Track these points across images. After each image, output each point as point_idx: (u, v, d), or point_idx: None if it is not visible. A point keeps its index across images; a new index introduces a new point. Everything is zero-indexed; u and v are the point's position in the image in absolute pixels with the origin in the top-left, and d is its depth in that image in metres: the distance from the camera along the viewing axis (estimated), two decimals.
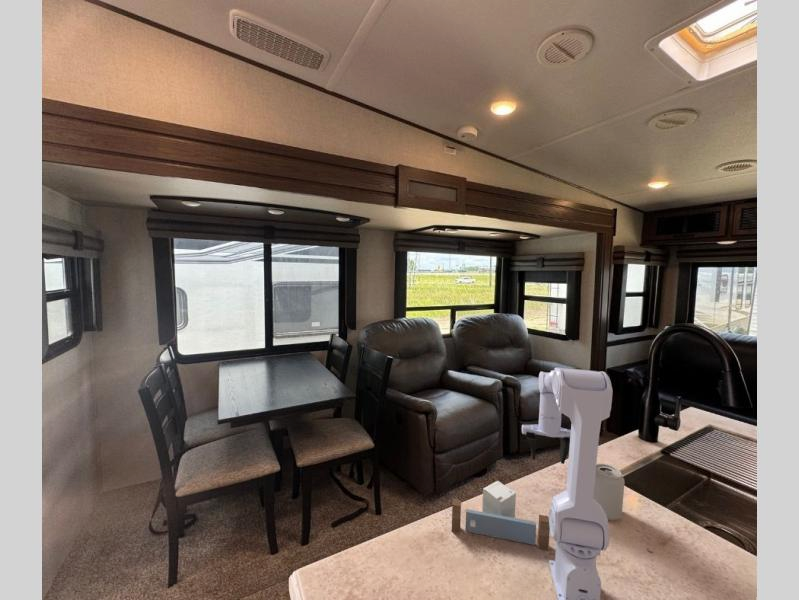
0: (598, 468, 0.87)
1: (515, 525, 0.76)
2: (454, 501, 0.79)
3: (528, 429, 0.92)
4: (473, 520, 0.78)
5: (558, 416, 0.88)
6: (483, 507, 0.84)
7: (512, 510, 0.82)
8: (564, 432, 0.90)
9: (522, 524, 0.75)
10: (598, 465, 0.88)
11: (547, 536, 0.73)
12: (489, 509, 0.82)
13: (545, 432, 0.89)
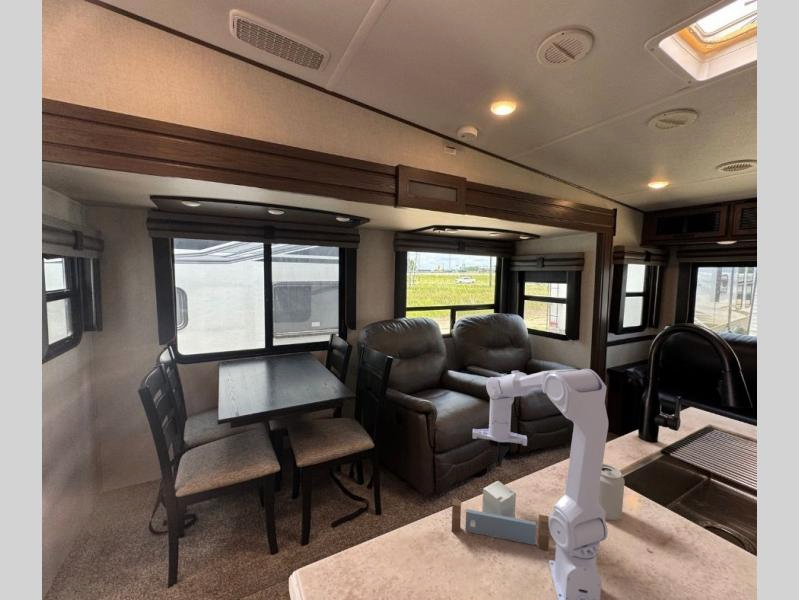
0: None
1: (515, 525, 0.76)
2: (454, 501, 0.79)
3: (478, 434, 0.90)
4: (473, 520, 0.78)
5: (510, 419, 0.88)
6: (483, 507, 0.84)
7: (512, 510, 0.82)
8: (514, 437, 0.89)
9: (522, 524, 0.75)
10: None
11: (547, 536, 0.73)
12: (489, 509, 0.82)
13: (494, 437, 0.88)
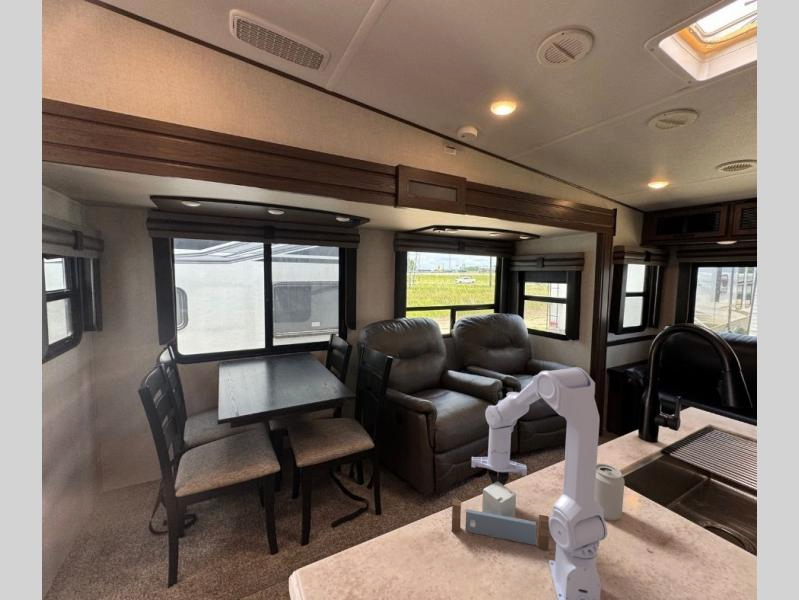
0: (598, 468, 0.87)
1: (515, 525, 0.76)
2: (454, 501, 0.79)
3: (477, 462, 0.89)
4: (473, 520, 0.78)
5: (509, 448, 0.87)
6: (483, 508, 0.84)
7: (512, 511, 0.82)
8: (513, 466, 0.88)
9: (522, 524, 0.75)
10: (598, 465, 0.88)
11: (547, 536, 0.73)
12: (489, 510, 0.82)
13: (493, 466, 0.87)
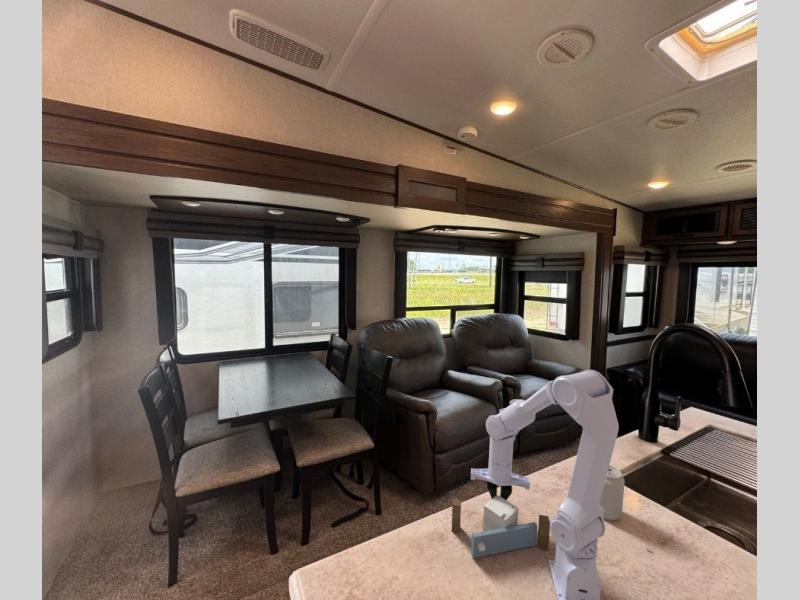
0: None
1: (519, 533, 0.73)
2: (454, 501, 0.79)
3: (476, 475, 0.83)
4: (481, 543, 0.71)
5: None
6: (484, 526, 0.78)
7: None
8: (515, 479, 0.82)
9: (526, 529, 0.74)
10: None
11: (547, 536, 0.73)
12: (491, 528, 0.76)
13: (494, 480, 0.81)
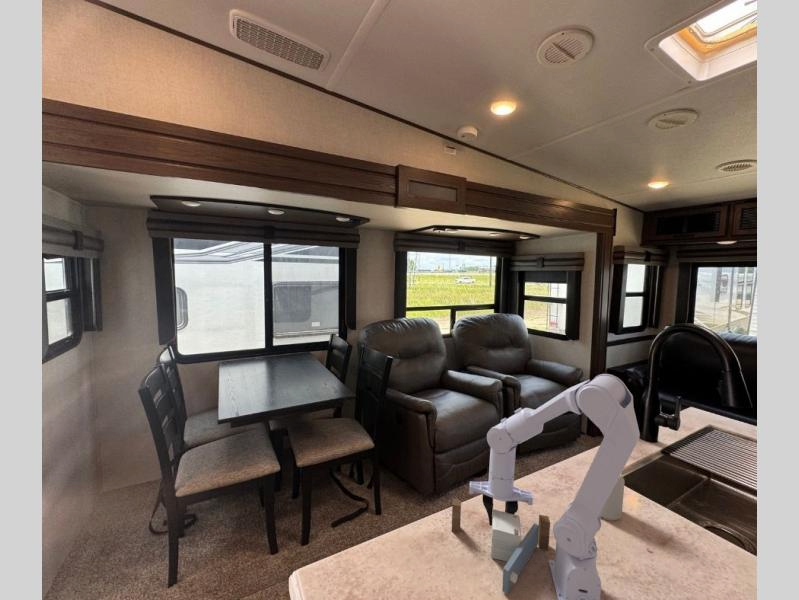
0: None
1: (530, 541, 0.71)
2: (454, 501, 0.79)
3: (476, 489, 0.78)
4: (513, 573, 0.64)
5: None
6: (493, 550, 0.71)
7: None
8: (517, 494, 0.76)
9: (533, 535, 0.72)
10: None
11: (547, 536, 0.73)
12: (503, 549, 0.70)
13: (494, 494, 0.75)
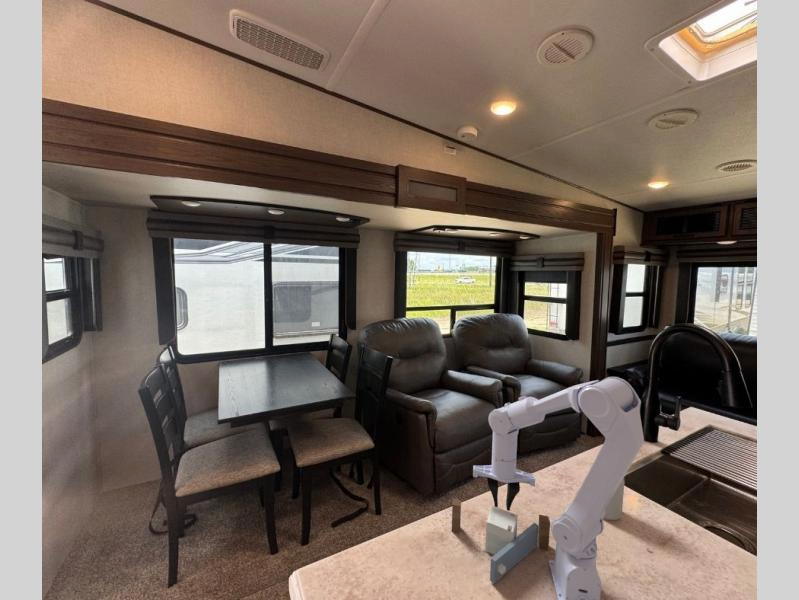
0: None
1: (526, 539, 0.72)
2: (454, 501, 0.79)
3: (479, 472, 0.80)
4: (501, 565, 0.66)
5: None
6: (487, 543, 0.73)
7: (516, 535, 0.74)
8: (520, 476, 0.78)
9: (531, 533, 0.73)
10: None
11: (547, 536, 0.73)
12: (496, 544, 0.72)
13: (497, 476, 0.77)
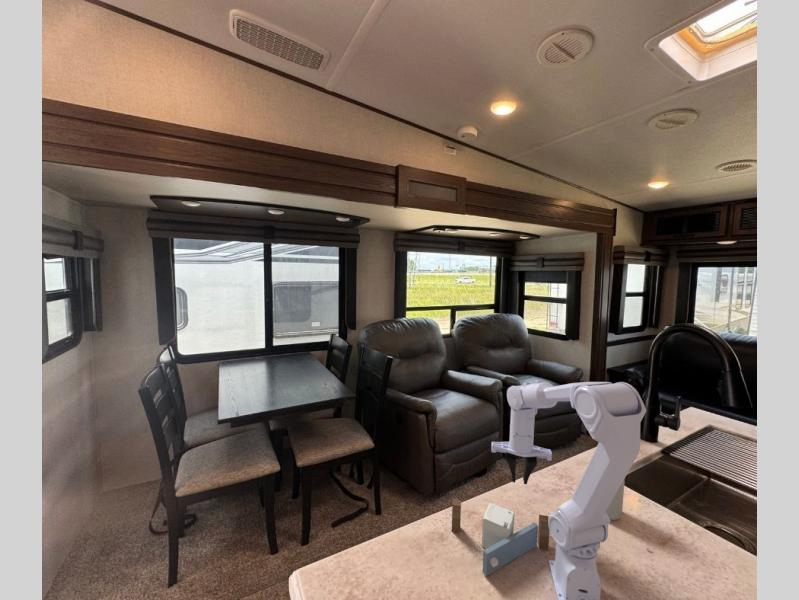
0: None
1: (524, 537, 0.72)
2: (454, 501, 0.79)
3: (498, 447, 0.83)
4: (493, 558, 0.67)
5: (533, 432, 0.81)
6: (483, 539, 0.74)
7: (512, 532, 0.75)
8: (537, 451, 0.82)
9: (529, 532, 0.73)
10: None
11: (547, 536, 0.73)
12: (493, 540, 0.73)
13: (516, 451, 0.81)
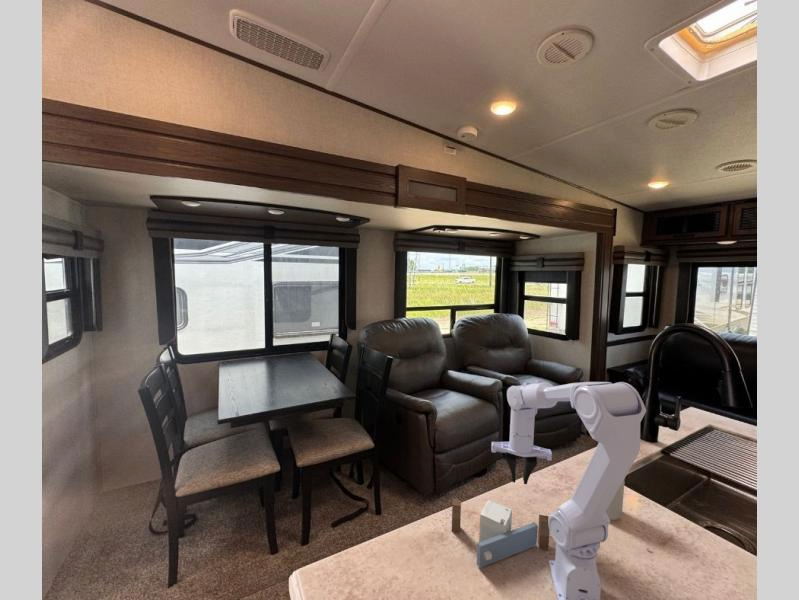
0: None
1: (522, 535, 0.73)
2: (454, 501, 0.79)
3: (498, 447, 0.83)
4: (487, 552, 0.69)
5: (533, 432, 0.81)
6: (481, 535, 0.75)
7: (510, 529, 0.76)
8: (537, 451, 0.82)
9: (527, 531, 0.73)
10: None
11: (547, 536, 0.73)
12: (489, 536, 0.74)
13: (516, 451, 0.81)
